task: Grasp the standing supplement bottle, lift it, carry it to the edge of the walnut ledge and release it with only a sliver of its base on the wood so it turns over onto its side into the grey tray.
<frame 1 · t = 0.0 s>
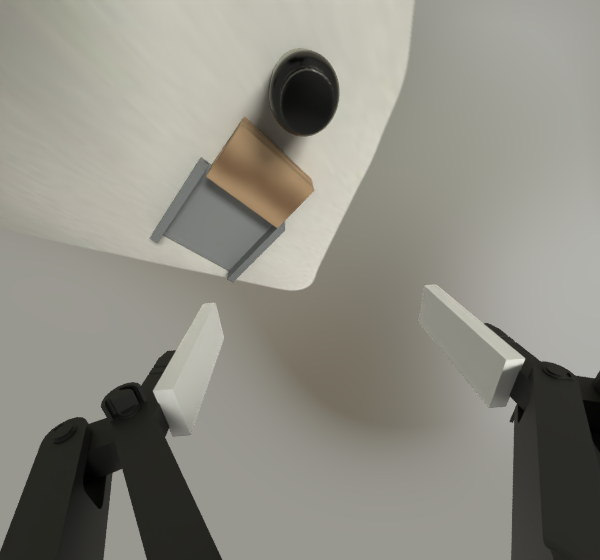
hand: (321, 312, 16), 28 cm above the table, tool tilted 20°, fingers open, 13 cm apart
walnut ledge: (262, 172, 37), on the table
supplement bottle: (299, 85, 31), on the table
grey tray: (220, 224, 43), on the table
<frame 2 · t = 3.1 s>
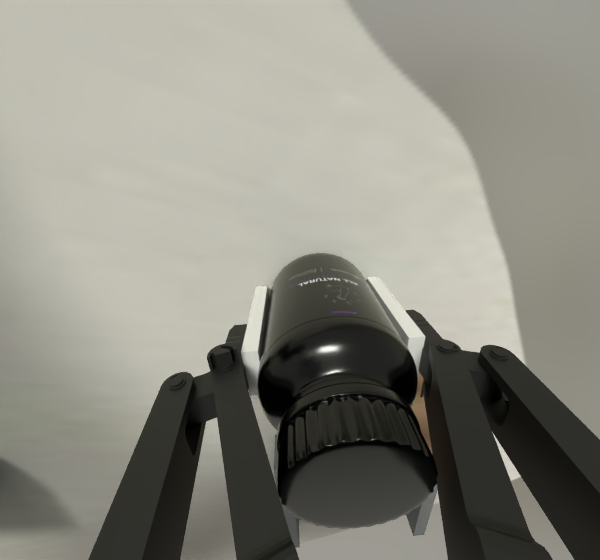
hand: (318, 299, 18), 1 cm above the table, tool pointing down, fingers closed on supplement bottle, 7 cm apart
walnut ledge: (354, 399, 23), on the table
supplement bottle: (316, 294, 18), on the table, touching gripper
grey tray: (351, 472, 28), on the table
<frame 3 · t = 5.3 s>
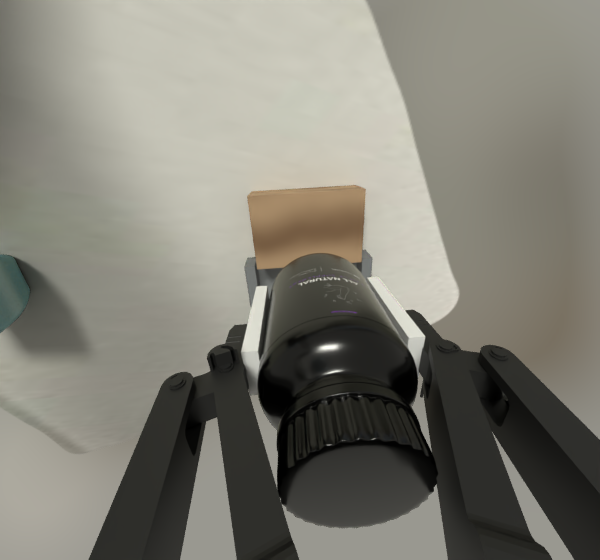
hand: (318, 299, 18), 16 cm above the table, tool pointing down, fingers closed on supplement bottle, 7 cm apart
flower pot: (4, 273, 32), on the table
walnut ledge: (305, 222, 31), on the table
supplement bottle: (316, 293, 18), point 15 cm above the table, touching gripper
grey tray: (308, 303, 36), on the table
when the fingers open (6 cm above the table, at t = 7.7 s): supplement bottle drops 1 cm, resting on grey tray.
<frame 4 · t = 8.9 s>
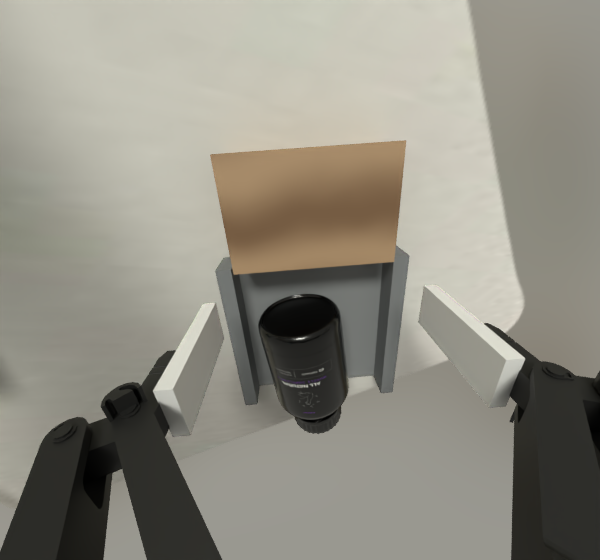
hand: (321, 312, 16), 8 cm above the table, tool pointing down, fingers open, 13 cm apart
walnut ledge: (307, 204, 21), on the table
supplement bottle: (296, 310, 20), point 4 cm above the table, touching grey tray
grey tray: (313, 321, 26), on the table
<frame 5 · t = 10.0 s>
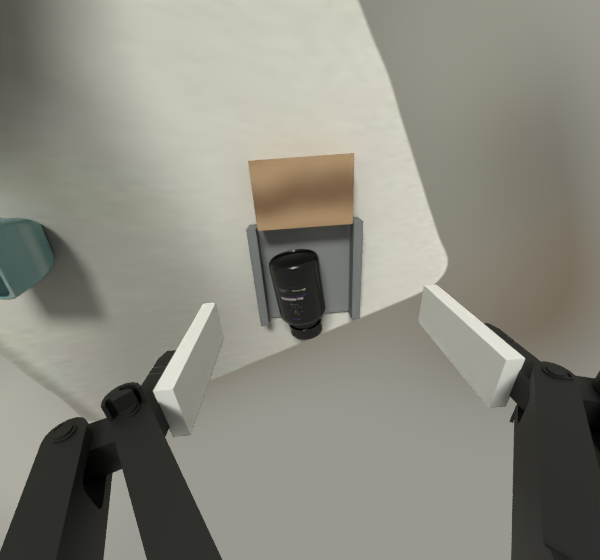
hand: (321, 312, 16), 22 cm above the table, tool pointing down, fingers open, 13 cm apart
flower pot: (32, 240, 36), on the table
walnut ledge: (301, 190, 34), on the table
supplement bottle: (292, 255, 34), point 4 cm above the table, touching grey tray
grey tray: (306, 270, 39), on the table
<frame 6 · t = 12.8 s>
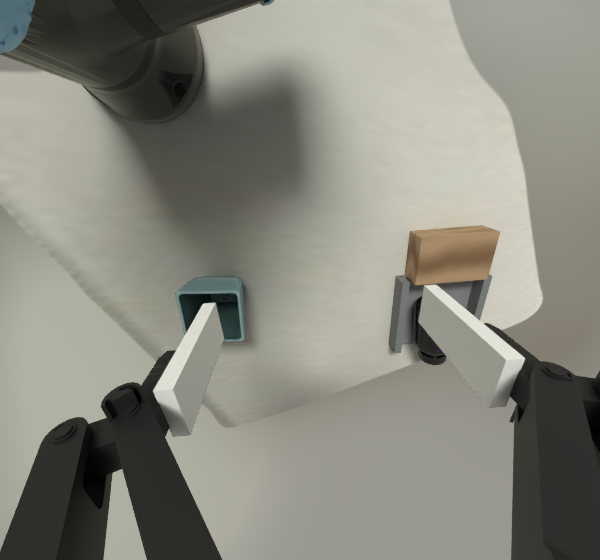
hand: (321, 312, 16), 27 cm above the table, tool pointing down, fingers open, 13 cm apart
flower pot: (225, 289, 45), on the table
walnut ledge: (441, 251, 44), on the table
supplement bottle: (435, 302, 43), point 4 cm above the table, touching grey tray
grey tray: (431, 308, 49), on the table
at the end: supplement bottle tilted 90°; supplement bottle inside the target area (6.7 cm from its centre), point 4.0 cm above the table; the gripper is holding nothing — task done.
